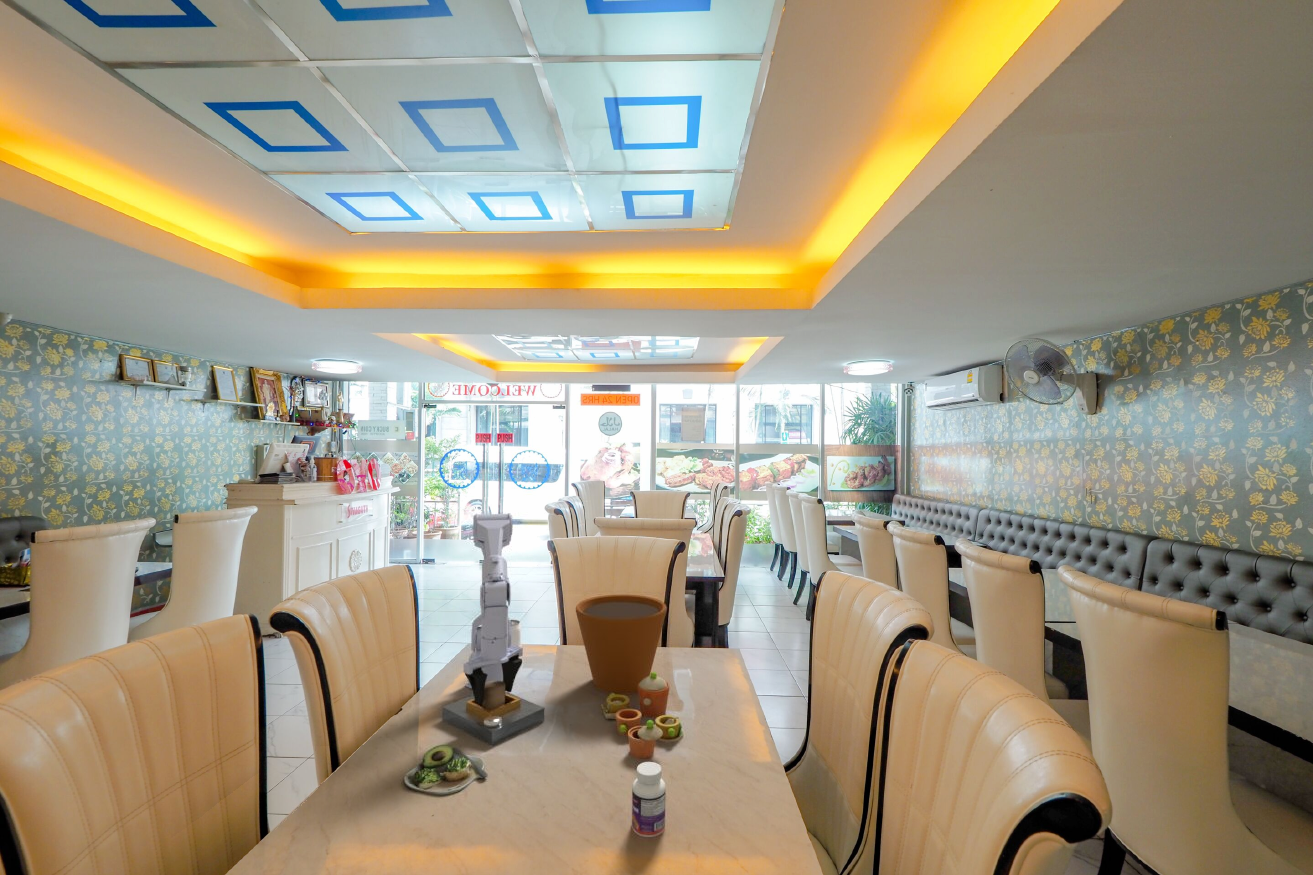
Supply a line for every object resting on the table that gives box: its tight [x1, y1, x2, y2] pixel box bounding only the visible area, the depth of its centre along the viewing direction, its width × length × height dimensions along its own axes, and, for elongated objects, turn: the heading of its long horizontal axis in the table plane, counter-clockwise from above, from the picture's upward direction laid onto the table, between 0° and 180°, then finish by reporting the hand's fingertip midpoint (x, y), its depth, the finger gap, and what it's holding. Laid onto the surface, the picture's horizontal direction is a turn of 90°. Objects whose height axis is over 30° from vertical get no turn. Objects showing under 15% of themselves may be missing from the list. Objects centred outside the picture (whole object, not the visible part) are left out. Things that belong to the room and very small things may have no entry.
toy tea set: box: [600, 671, 684, 759], centre depth 126 cm, size 26×16×10 cm, turn 18°
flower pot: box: [575, 594, 668, 695], centre depth 152 cm, size 24×24×20 cm
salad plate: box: [403, 744, 489, 796], centre depth 108 cm, size 15×14×4 cm
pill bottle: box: [631, 761, 666, 838], centre depth 93 cm, size 5×5×10 cm
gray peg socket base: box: [441, 691, 545, 747], centre depth 129 cm, size 18×14×4 cm
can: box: [510, 619, 522, 659], centre depth 162 cm, size 6×6×12 cm
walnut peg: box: [482, 681, 505, 710], centre depth 129 cm, size 5×5×8 cm
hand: (493, 696), depth 130 cm, fingers open, 7 cm apart
